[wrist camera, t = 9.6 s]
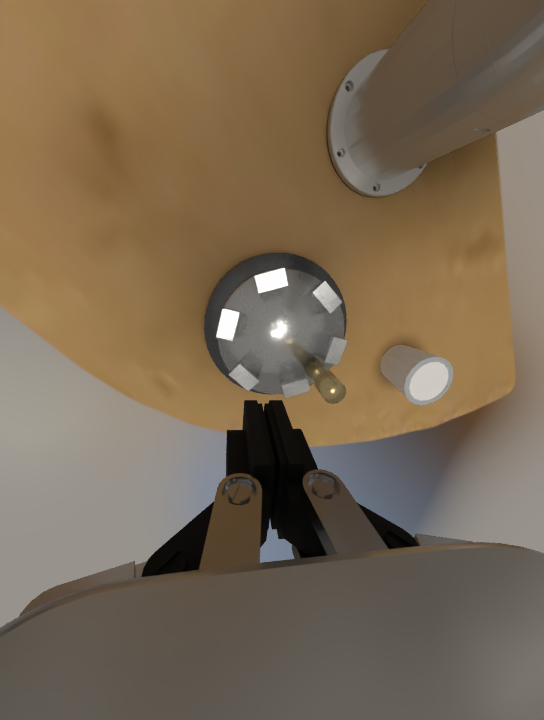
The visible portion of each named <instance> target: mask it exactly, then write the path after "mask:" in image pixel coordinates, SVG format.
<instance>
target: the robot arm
mask: <svg viewBox="0 0 544 720" xmlns="http://www.w3.org/2000/svg"><path fill="white" fill-rule="evenodd" d="M345 88H346V89H347V90H348V91H346V89H345ZM543 110H544V0H428V2H427V3H426V4H425V5H424V7H423V8H422V9H421V10H420V12H419V13H418V14H417V15H416V17H415V18H414V19H413V20H412V22H411V23H410V24H409V25H408V26H407V28H406V29H405V30H404V31H403V33H402V34H401V35H400V36H399V38H398V39H397V40H396V41H395V43H394V44H393V45H392V46H391V47H390V48H389V49H381V50H378V51H375V52H373V53H370V54H368V55H367V56H365V57H364V58H363V59H361V60H360V61H358V62H357V64H356V65H355V66H354V67H353V68H352V69H351V70H350V71H349V72H348V74H347V75H346V77H345V78H344V79H343V81H342V82H341V84H340V86H339V88H338V90H337V92H336V94H335V96H334V99H333V102H332V105H331V108H330V113H329V118H328V131H327V138H328V147H329V152H330V156H331V159H332V163H333V165H334V167H335V169H336V171H337V173H338V175H339V176H340V177H341V179H342V180H343V182H344V183H345V184H347V185H348V186H349V187H350V188H351V189H352V190H354V191H356V192H357V193H359V194H361V195H365V196H368V197H383V196H388V195H391V194H394V193H397V192H399V191H400V190H402V189H404V188H406V187H407V186H408V185H410V184H411V183H412V182H413V181H415V179H416V178H417V177H418V176H419V175H420V174H421V173H422V171H423V170H424V168H425V167H426V165H427V164H428V162H430V161H432V160H434V159H437V158H439V157H441V156H443V155H445V154H448V153H450V152H452V151H454V150H457V149H459V148H461V147H463V146H465V145H468V144H470V143H472V142H474V141H477V140H479V139H481V138H483V137H485V136H488V135H490V134H492V133H494V132H497V131H499V130H501V129H503V128H505V127H508V126H510V125H512V124H514V123H516V122H519V121H521V120H523V119H525V118H528V117H530V116H532V115H534V114H536V113H538V112H541V111H543ZM337 153H339V154H340V157H338V155H337ZM373 187H374V190H373ZM226 451H227V452H226V478H224V479H223V480H222V481H221V482H220V483H219V486H218V488H217V492H216V496H215V501H214V502H213V503H212V504H211V505H209V506H208V507H207V508H206V509H205V510H203V511H202V512H201V513H200V514H199V515H198V516H196V517H195V518H194V519H193V520H192V521H191V522H189V523H188V524H187V525H186V526H185V527H184V528H183V529H181V530H180V531H179V532H178V533H177V534H176V535H174V536H173V537H172V538H171V539H170V540H169V541H167V542H166V543H165V544H164V545H163V546H162V547H161V548H159V549H158V550H157V551H156V552H155V553H154V554H153V555H152V556H151V557H150V558H149V559H148V561H147V562H144V563H141V564H137V565H135V561H134V562H130V563H128V564H124V565H121V566H118V567H115V568H112V569H108V570H105V571H102V572H99V573H96V574H93V575H90V576H87V577H83V578H80V579H77V580H74V581H71V582H68V583H64V584H61V585H58V586H55V587H53V588H51V589H49V590H47V591H44V592H43V593H41V594H40V595H39V596H37V597H36V598H35V599H34V600H32V601H31V602H30V603H29V604H28V605H27V607H26V608H25V609H24V610H23V612H21V614H20V616H19V617H18V618H16V619H14V620H13V621H11V622H9V623H7V624H6V625H4V626H2V627H1V628H0V720H544V553H542V552H539V551H535V550H531V549H527V548H524V547H520V546H514V545H508V544H502V543H484V542H471V541H464V540H458V539H450V538H444V537H436V536H430V535H422V534H415V536H414V537H412V536H411V535H410V534H409V533H407V532H406V531H405V530H403V529H402V528H400V527H398V526H396V525H395V524H393V523H391V522H390V521H388V520H386V519H385V518H383V517H381V516H379V515H377V514H376V513H374V512H372V511H371V510H369V509H367V508H365V507H363V506H362V505H360V504H358V503H357V502H356V501H355V499H354V498H353V497H352V495H351V494H350V492H349V491H348V489H347V488H346V486H345V485H344V483H343V482H342V481H341V480H340V479H339V477H337V476H336V475H334V474H333V473H331V472H328V471H326V470H321V469H320V470H318V468H317V465H316V463H315V461H314V458H313V456H312V454H311V451H310V449H309V446H308V444H307V442H306V439H305V437H304V434H303V432H302V430H301V429H293V428H292V426H291V423H290V420H289V418H288V415H287V412H286V409H285V407H284V404H283V401H282V400H270V401H269V404H265V406H264V411H263V407H262V404H258V402H257V400H245V401H244V415H243V430H227V449H226ZM269 519H270V520H271V527H272V529H277V533H278V538H279V539H286V540H287V541H288V542H290V543H291V544H292V551H293V556H294V558H295V559H292V560H283V561H273V562H264V563H260V547H261V546H262V545H263V544H264V542H265V541H266V538H267V530H268V528H269Z"/></svg>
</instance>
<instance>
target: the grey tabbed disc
mask: <svg viewBox="0 0 544 720" xmlns="http://www.w3.org/2000/svg"><path fill="white" fill-rule="evenodd" d="M341 303H342V301H341V300H340V298H339V297H338V296H337V295H336V293H335V292H334V291H333V290H332V289H331V287H330V286H329V285H328V284H327V282H326V281H325V280H322V281H320V280H319V279H317V278H316V277H314V276H312V275H310V274H307V273H305V272H301V271H297V270H292V269H286V268H273V269H268V270H263V271H260V272H257V273H255V274H253V275H251V276H249V277H248V278H246V279H245V280H243V281H242V282H241V283H240V284H238V285H237V286H236V287H235V288H234V289H233V291H232V292H231V293H230V294H229V296H228V298H227V299H226V301H225V303H224V305H223V307H222V310H221V313H220V317H219V323H218V329H217V334H216V337H217V338H218V345H219V350H220V353H221V356H222V359H223V361H224V363H225V365H226V367H227V368H228V370H229V372H228V374H229V376H231V377H232V378H233V379H234V380H235V381H237V382H238V383H239V384H240V385H241V386H243V387H244V388H245V389H246V390H247V391H250V390H251V389H254V390H256V391H259V392H263V393H268V394H284V397H285V398H288V397H291V396H294V395H298V394H301V393H304V392H308V391H310V389H309V386H310V385H312V384H314V385H315V387H316V388H317V390H318V391H319V392H320V394H321V395H322V397H323V398H324V399H325V401H326V402H328V403H331V404H334V403H338V402H340V401H341V400H342V399H343V398H344V396H345V394H346V388H345V386H344V385H343V384H342V383H341V382H340V381H339V380H338V379H337V378H336V377H335V375H334V374H333V373H332V372H331V371H330V370H329V369H330V368H331V366H332V365H333V364H335V365H338V364H339V361H340V359H341V356H342V354H343V351H344V348H345V346H346V343H347V341H348V340H346V339H344V318H343V313H342V310H341V307H340V304H341Z"/></svg>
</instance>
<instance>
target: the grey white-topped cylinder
mask: <svg viewBox="0 0 544 720" xmlns="http://www.w3.org/2000/svg"><path fill="white" fill-rule="evenodd" d="M380 369H381V373H382V374H383V375H384V376H385V377H386V378H387V379H388V380H389V381H390V382H391V383H392V384H393V385H394V386H395V387H396V388H397V389H398V390H399V391H400V392H401V393H402V394H403V395H404V396H405V397H406V398H407V399H408V400H409V401H410V402H412V403H414V404H417V405H426V404H430V403H432V402H434V401H437V400H438V399H439V398H440V397H441V396H443V395H444V394H445V393H446V391H447V390H448V388H449V387H450V385H451V382H452V378H453V369H452V366H451V364H450V363H449V362H448V360H446V359H444V358H441V357H439V356H436V355H433V354H430V353H427V352H424V351H421V350H418V349H415V348H412V347H409V346H406V345H396V346H394V347H391V348H390V349H389V350H388V351H386V352H385V354H384V355H383V357H382V359H381V362H380Z"/></svg>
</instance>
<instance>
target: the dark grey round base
mask: <svg viewBox="0 0 544 720" xmlns="http://www.w3.org/2000/svg"><path fill="white" fill-rule="evenodd" d="M273 268H286V269H292V270H297V271H301V272H305V273H307V274H310V275H312V276H314V277H316V278H317V279H319V280H320V281H322V280H325V281H326V282H327V284H328V285H329V286H330V287H331V289H332V290H333V291H334V292H335V293H336V295H337V296H338V297H339V298H340V300H341V301H342V303H341V304H340V307H341V310H342V313H343V318H344V336H345V332H346V309H345V304H344V301H343V297H342V295H341V292H340V290H339V288H338V286H337V285H336V283H335V282H334V280H333V279H332V278H331V277H330V275H329V274H328V273H327V272H326V271H325V270H323V269H322V268H321V267H320V266H318V265H317V264H315V263H314V262H312V261H310V260H308V259H306V258H304V257H300V256H297V255H293V254H286V253H270V254H263V255H259V256H255V257H252V258H250V259H247V260H245V261H243V262H241V263H240V264H238V265H237V266H235V267H234V268H232V269H231V270H230V271H229V272H228V273H227V274H226V275H225V276H224V277H223V278H222V279H221V280H220V282H219V283H218V285H217V286H216V288H215V289H214V291H213V293H212V295H211V297H210V300H209V303H208V307H207V310H206V316H205V327H204V330H205V339H206V343H207V348H208V350H209V353H210V355H211V357H212V359H213V361H214V363H215V364H216V366H217V367H218V368H219V370H220V371H221V372H222V373H223V374H224V375H225V376H226V377H227V378H228V379H229V380H231V381H232V382H233V383H235V384H237V385H238V386H240V387H242V388H244V387H243V386H241V385H240V384H239V383H238V382H237V381H235V380H234V379H233V378H232V377H231V376H229V374H228V372H229V370H228V368H227V367H226V365H225V363H224V361H223V359H222V356H221V353H220V350H219V345H218V338H217V337H216V334H217V329H218V323H219V317H220V313H221V310H222V307H223V305H224V303H225V301H226V299H227V298H228V296H229V294H230V293H231V292H232V291H233V289H234V288H235V287H236V286H237V285H238V284H240V283H241V282H242V281H243V280H245V279H246V278H248V277H249V276H251V275H253V274H255V273H257V272H260V271H263V270H268V269H273ZM244 389H245V388H244ZM250 391H253V392H256V393H262V394H268V393H263V392H259V391H256V390H254V389H251V390H250Z"/></svg>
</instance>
